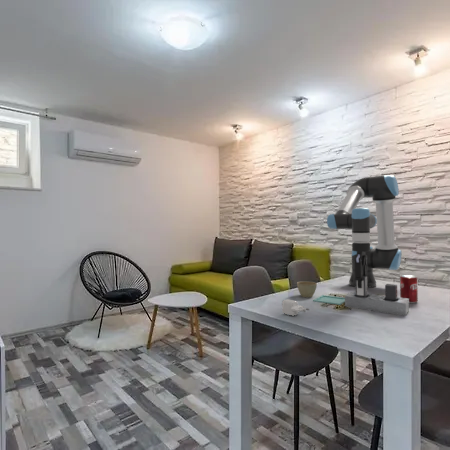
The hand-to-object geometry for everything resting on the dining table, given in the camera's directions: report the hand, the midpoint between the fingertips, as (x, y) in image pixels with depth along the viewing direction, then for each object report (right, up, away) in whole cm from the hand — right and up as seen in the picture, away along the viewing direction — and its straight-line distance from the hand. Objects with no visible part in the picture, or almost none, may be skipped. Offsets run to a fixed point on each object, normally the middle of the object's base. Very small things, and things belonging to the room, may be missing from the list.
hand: (361, 294), depth 143 cm
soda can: (+26, -6, +8) cm, 28 cm away
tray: (-10, -6, +11) cm, 16 cm away
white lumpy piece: (-33, -7, -12) cm, 36 cm away
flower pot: (-19, -6, +21) cm, 29 cm away
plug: (0, -2, 0) cm, 2 cm away
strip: (+8, -6, +1) cm, 10 cm away
